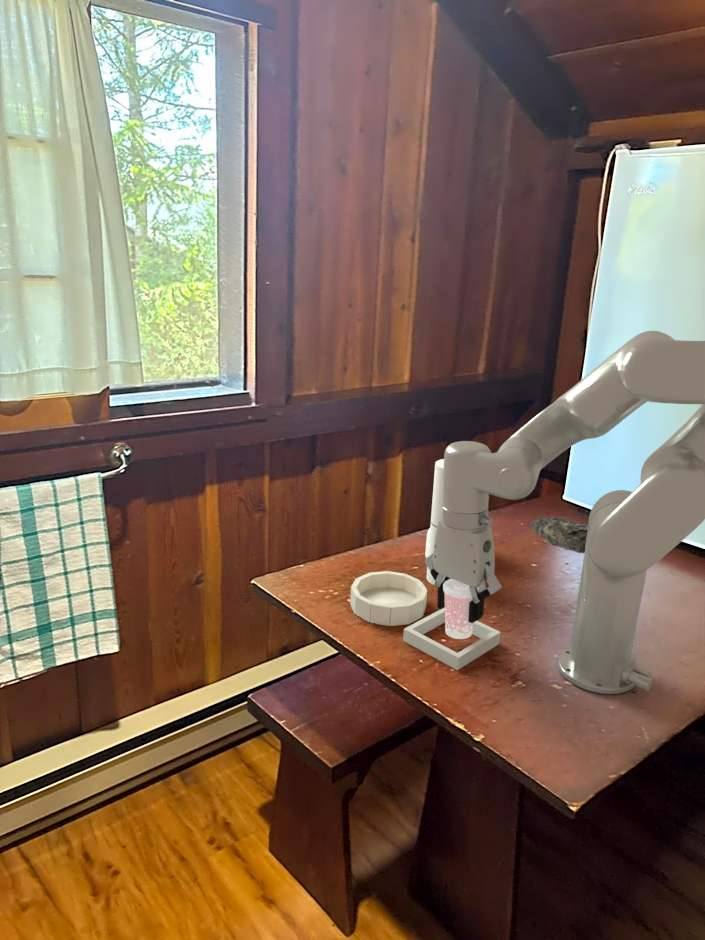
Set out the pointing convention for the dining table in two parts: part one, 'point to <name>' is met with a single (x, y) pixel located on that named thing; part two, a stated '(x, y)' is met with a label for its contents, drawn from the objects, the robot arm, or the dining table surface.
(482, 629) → the open square frame
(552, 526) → the geode
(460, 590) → the beverage cup
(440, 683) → the dining table surface
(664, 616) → the dining table surface
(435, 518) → the cylindrical container
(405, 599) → the bowl
